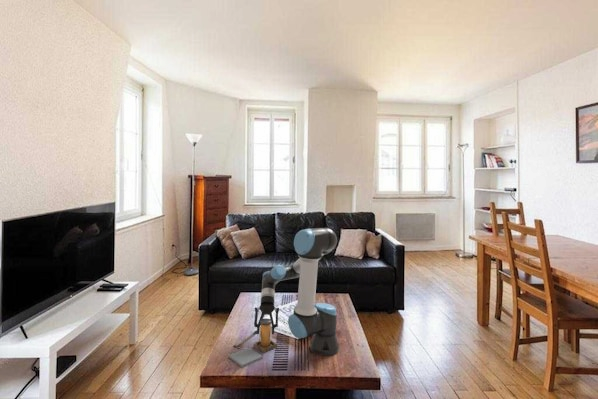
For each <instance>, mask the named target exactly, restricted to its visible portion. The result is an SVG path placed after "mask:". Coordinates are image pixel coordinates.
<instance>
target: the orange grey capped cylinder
mask: <svg viewBox="0 0 598 399" xmlns="http://www.w3.org/2000/svg"><path fill="white" fill-rule="evenodd" d="M271 323H272V320H271V319H270V318H263V319H261V320H260V324H261V326H260V327H261V338H260V341H261V344H260V345H259V346H261V347H262V348H264V349H265V348H267V347H269V346H272V345H271V344H270V342H271V341H270V330H271V327H272V324H271Z"/></svg>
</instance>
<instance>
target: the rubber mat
mask: <svg viewBox="0 0 598 399" xmlns="http://www.w3.org/2000/svg"><path fill="white" fill-rule="evenodd" d="M228 358H229V359H230V360H232V361H233V362H234V363H236V364H237V365H238V366H240V367H241V368H244V367H247V366H248V365H251V364H253V363H255V362H257V361H260V360H262V359H263V358H264V357H263V355H261V354H260V353H258V352H256V350H254V349H252V348H251V347H245V348H243V349H239V350H238V351H235V352H233V353H231V354H229V355H228Z"/></svg>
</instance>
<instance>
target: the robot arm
mask: <svg viewBox="0 0 598 399" xmlns="http://www.w3.org/2000/svg"><path fill="white" fill-rule="evenodd" d="M337 243H338V237H337V234H336V233H335V231H333V230H332V229H331V228H328V227H316V228H315V227H314V228H305V229H301V230H299V231H298V232H297V233H296V234H295V236H294V239H293V247H294V250H295V252H296V254H297V256H298V257H299V258H298V259H297V260H296V261H294V262H293V263H292V264H290V265H286V266H284V265H281V264H276V265H275V266H273V267H272V268H271V270H267V271H264V272H263V273H262V279H261V296H260V297H261V298H260V305H259V306H258V307H255V308H254V312H255V314H254V322H253V325H254V327H255V328H256V330H257V333H256V335H258V341H261V324H260V320H261V319H264V317H265V315H269V319H271V320H272V323H271V330H270V341H273V340H272V339H273V335H274V334H275V328H279V312H280V307H275V293H276V291H275V289H276V285H277V284H278V283H279V282H281V281H286V280H292V279H298V292H297V304H296V305H295V306H294V307H293V314H290V315H289V316H288V320H287V323H288V328H289V331H290V333H291V334H292V335H293V337H295V338H296V339H302V338H303V339H305V338H307V337H310V336H312V337H311V341H310V345H309V348H310V351H311V352H312V353H314V354H316V355H319V356H334V355H336V354H338V352H339V351H340V344H339V341H338V338H337V337H338V336H337V319H338V318H337V315H338V314H337V307H336V306H334V305H332V304H330V303H326V302H316V290H317V282H318V281H317V280H318V270H319V269H318V267H319V261H320V260H321V259H322V258H323V256H324V255H328V254H329V253H331V252H332V251H333V250H334V249H335V248H336V246H337ZM259 312H261V314H260V317H259V316H258V315H259ZM273 312H275V321H274V318H273V314H272V313H273ZM258 317H259V320H258Z"/></svg>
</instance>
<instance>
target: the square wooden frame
mask: <svg viewBox="0 0 598 399" xmlns="http://www.w3.org/2000/svg"><path fill="white" fill-rule="evenodd" d="M260 344H261V340H260V341H259V340H258V341H255V342H254V343H253V347H254V348H255V349H257V350H258V351H260V352H262V353H268V352H270V351H272V350H274V349H277V348H278V343H277V342H275V341H273V340H272V341H271V342H270V344H271V346H269V347H267V348H265V349H264V348H262V347H261V346H260Z"/></svg>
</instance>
